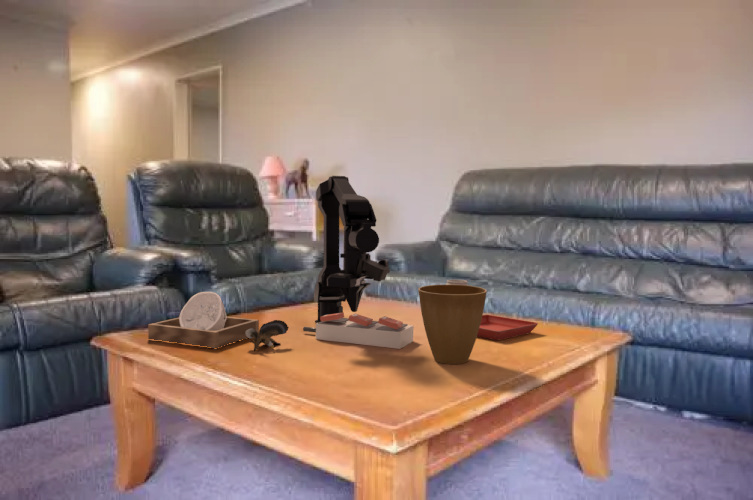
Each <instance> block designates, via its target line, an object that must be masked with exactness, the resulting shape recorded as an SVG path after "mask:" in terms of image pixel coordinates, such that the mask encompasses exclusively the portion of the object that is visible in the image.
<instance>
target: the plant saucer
mask: <svg viewBox="0 0 753 500" xmlns="http://www.w3.org/2000/svg"><path fill="white" fill-rule="evenodd" d="M538 325H539V323H538V322H537V321H536V322H535V321H528V320H522V319H517V318H511V317H506V316H505V317H504V316H498V315H494V314H493V315H492V314H483V315H482V319H481V323H480V327H479V331H478V334H477V337H479V338H484V339H488V340H493V341H501V339H502V340H505V338H506V339H510V337H511V338H515V337H514V336H516V337H519V336H518V335H520V336H524V335H523V334H525V335H528V334H527V333H529V334H530V333H531V332H532V331H533V330H534V329H536V327H537V326H538Z"/></svg>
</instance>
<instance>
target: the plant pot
mask: <svg viewBox="0 0 753 500" xmlns="http://www.w3.org/2000/svg"><path fill="white" fill-rule="evenodd" d="M417 290H418V297H419V305H420V312H421V317H422V322H423V325H424V326H423V327H424V331H425V334H426V338H427V342H428V345H429V348H430V351H431V353H432V357H433V358H434V361H435V362H437V363H440V364H446V365H461V364H462V365H463V364H465V363H467V362H468V360H469V358H470V356H471V354H472V351H473V349H474V346H475V343H476V340H477V337H478V336H477V334H478V331H479V327H480V323H481V319H482V315H484V309H485V303H486V299H487V298H486V297H487V292H488V290H487V289H486V288H484V287H480V286H476V285H475V286H474V285H469V284H468V285H452V284H447V283H445V284H432V285H423V286H420V287H418V289H417Z"/></svg>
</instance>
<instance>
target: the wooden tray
mask: <svg viewBox="0 0 753 500" xmlns="http://www.w3.org/2000/svg"><path fill="white" fill-rule="evenodd" d="M224 320H225V316H224ZM251 328H253V329H254V330H255V331H257V332H259V330H260V320H259V319H254V318H253V319H252V318H242V317H234V316H227V319H226V322H225V326H224V328H223V329H220V330H216V331H210V330H202V329H193V328H185V327H181V326H180V322H179V316H178V317H175V318H170V319H166V320H162V321H158V322H153V323H149V324H148V325H147V330H148V331H147V333H148V334H147V339H154V340H162V341H169V342H177V343H185V344H192V345H200V346H207V347H211V348H218V347H221V346H224V345H227V344H229V343H233V342H236V341H239V340H242V339H246V338H248V337H247V336H246V333H245V332H246V330H248V329H251ZM246 340H247V339H246ZM227 346H228V345H227ZM224 347H225V346H224ZM221 348H222V347H221ZM218 349H219V348H218Z"/></svg>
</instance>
